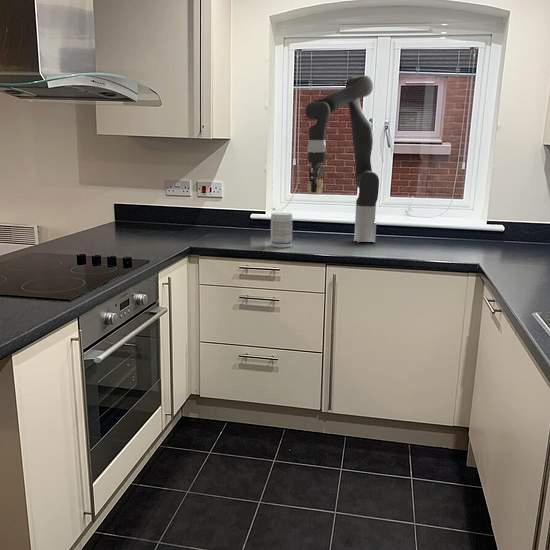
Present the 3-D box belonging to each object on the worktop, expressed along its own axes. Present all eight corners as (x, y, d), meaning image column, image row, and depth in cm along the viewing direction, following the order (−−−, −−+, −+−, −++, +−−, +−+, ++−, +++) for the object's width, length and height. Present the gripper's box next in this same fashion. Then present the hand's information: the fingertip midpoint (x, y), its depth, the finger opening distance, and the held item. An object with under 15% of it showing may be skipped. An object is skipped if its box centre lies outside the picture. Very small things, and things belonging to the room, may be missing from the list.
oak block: (311, 193, 254) (311, 179, 253) (322, 193, 253) (322, 179, 251) (308, 194, 250) (308, 179, 248) (319, 194, 248) (319, 180, 247)
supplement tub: (295, 247, 259) (296, 214, 256) (276, 248, 255) (277, 215, 252) (285, 243, 267) (286, 211, 264) (266, 245, 263) (267, 212, 260)
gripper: (312, 150, 255) (311, 190, 259) (303, 151, 242) (302, 192, 246) (329, 151, 252) (328, 190, 256) (320, 151, 239) (319, 193, 243)
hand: (315, 191), depth 251 cm, fingers closed on oak block, 5 cm apart
